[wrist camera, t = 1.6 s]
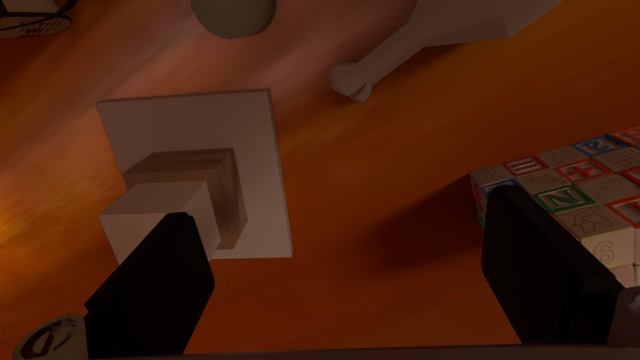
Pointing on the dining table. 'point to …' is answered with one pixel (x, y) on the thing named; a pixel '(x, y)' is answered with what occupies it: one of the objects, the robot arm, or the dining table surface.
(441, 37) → the chicken leg
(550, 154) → the stack of blocks
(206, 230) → the middle block
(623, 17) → the dining table surface
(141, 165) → the base block
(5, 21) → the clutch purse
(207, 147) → the grey board
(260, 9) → the olive domed cylinder
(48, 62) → the dining table surface
